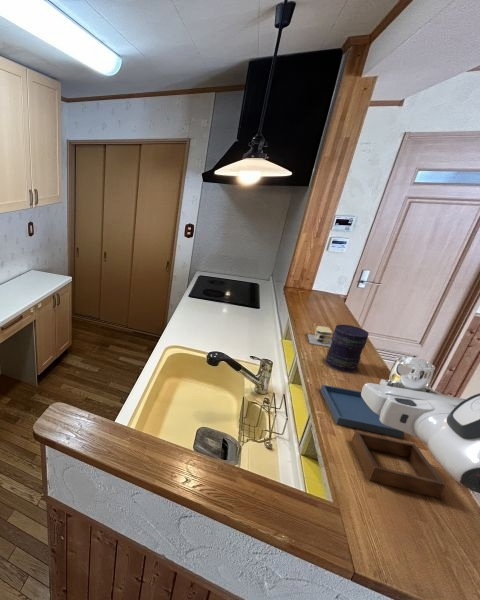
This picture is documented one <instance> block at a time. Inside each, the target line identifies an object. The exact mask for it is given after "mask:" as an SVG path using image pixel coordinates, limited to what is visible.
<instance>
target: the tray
mask: <svg viewBox="0 0 480 600" xmlns="http://www.w3.org/2000/svg"><path fill="white" fill-rule="evenodd" d="M361 392H362V391H359V390H354V389H349V388H342V387H337V386H333V385H332V386H331V385H328V384H327V385H326V384H321V387H320V393H321V395H322V397H323V399H324V401H325V404H326V406H327V407H328V410H329V412H330V414H331V416H332V417H333V420H334V422H335V424H336V425H339V426H343V427H349V428H353V429H359V430H363V431H366V432H367V431H368V432H371V433H377V434H381V435H386V436H390V437H395V438H400V439H403V437H404V435H405V434H406V433H405V432H403V431H400V430H398V429H395V428H392V427H389V426H386V425H384V424H382V423H381V422H380V420H379V418H380V415H378V414H376V413H375V412H373V411H372V410H371V409H370V408H369V406H368V405H367V404H366V403H365V401H364V400H363V398H362V396H361Z"/></svg>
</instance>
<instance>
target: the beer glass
mask: <svg viewBox="0 0 480 600" xmlns="http://www.w3.org/2000/svg"><path fill="white" fill-rule="evenodd" d="M435 370H436V367H435V365H434V364H433V363H431V362H429V361H428V360H425V359H422V358H419V357H415V356H411V355H399V356H397V357H396V359H395V361H394V362H393V365H392V366H391V369H390V371H389V374H388V378H387V380H389V382H390V383H392V384H391V387H397V388H403V389H409V390H415V391H421V392H426V390H427V389H428V387H430V384H431V383H432V380H433V376H434V373H435Z"/></svg>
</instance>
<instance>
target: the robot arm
mask: <svg viewBox="0 0 480 600" xmlns="http://www.w3.org/2000/svg"><path fill="white" fill-rule="evenodd" d="M391 384H392V383H390V382H389V380H388V379H383V378H381V379H380V382H379V384H378V383H374V382H373V383H372V382H366V383H364V384H363V386H362V388H361V391H360V392H361V396H362V398H363V400H364V401H365V403H366V404H367V405H368V406H369V408H370V409H371V410H372V411H373V412H375V413H376V414H378V415H380V418H379V420H380V422H381V423H382V424H384V425H386V426H389V427H392V428H395V429H398V430H400V431H403V432H405V433H404V434H408V435H410V436H412V437H414V438H416V439H418V440H420V441H421V443H423V444H424V445H425V446H426V447H427V448H428V451H429V453H430V454H431V456H432V457H433V458H434V459H435V461H436V462H437V463H438V465H440V467H441V468H442V469H443V470H444V471H445V473H447V474H448V475H449V476H450V477H451V478H452V479H453V480H454V481H456V483H458V484H459V485H461V486H462V487H464V488H466V489H468V490H470V491H471V492H473V493H477V494H480V393H476V394H474V395H470V397H467V398H462V397H457V396H450V395H445V394H443V393H441V392H439V391H436V390H435V389H433V388H432V387H430V386H429V387H428V389H427V390H426V392H421V391H415V390H409V389H403V388H397V387H391Z"/></svg>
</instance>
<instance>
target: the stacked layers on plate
mask: <svg viewBox="0 0 480 600" xmlns="http://www.w3.org/2000/svg"><path fill="white" fill-rule="evenodd" d="M314 333H315V334H310V333H307V334H306V335H307V338H308V342H309V344H312V345H317V346H324V347H328V348H330V346H331V343H332V337H331V336H333V331H332V330H331V328H330V327H329V326H323V325H317V326H316V328H315V330H314Z"/></svg>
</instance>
